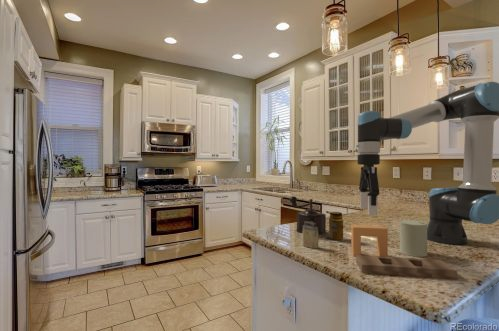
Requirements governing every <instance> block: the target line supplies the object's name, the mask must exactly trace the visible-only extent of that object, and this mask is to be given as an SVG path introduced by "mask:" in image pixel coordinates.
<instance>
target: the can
mask: <svg viewBox="0 0 499 331" xmlns="http://www.w3.org/2000/svg"><path fill="white" fill-rule="evenodd" d="M428 224H429V223H427V222H425V221H421V220H412V219H402V220H399V252H400V253H401V254H403V255H405V256H409V257H414V258H415V257H416V258H417V257H418V258H424V257H428V256H429V254H428V239H427V226H428Z"/></svg>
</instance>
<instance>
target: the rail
mask: <svg viewBox="0 0 499 331" xmlns="http://www.w3.org/2000/svg"><path fill="white" fill-rule="evenodd" d="M355 258H356V259H355V263H356V265H357V267H358V268H359V270H360V271H361V273H362V274H375V275H377V274H378V275H389V276H390V275H392V276H393V275H394V276H408V277H421V278H422V277H423V278H435V279H449V280H458V271H457V269H456V268H454V267H452V266H451V265H449V264H448V263H447V262H446V261H444V260H442V259H430V258H417V257H416V258H415V257H413V258H412V257H400V256H399V257H397V256H396V257H395V256H388V257H382V256H378V255H363V254H361V255H356V256H355Z"/></svg>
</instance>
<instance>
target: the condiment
mask: <svg viewBox="0 0 499 331" xmlns="http://www.w3.org/2000/svg"><path fill="white" fill-rule="evenodd" d="M322 239H323V240H325V241H328V242H331V243H338V242H343V241H344V242H345V241H347V240H348V238H344V219H343V212H341V211H331V212H329V218H328V236H327V237H323V238H322Z"/></svg>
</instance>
